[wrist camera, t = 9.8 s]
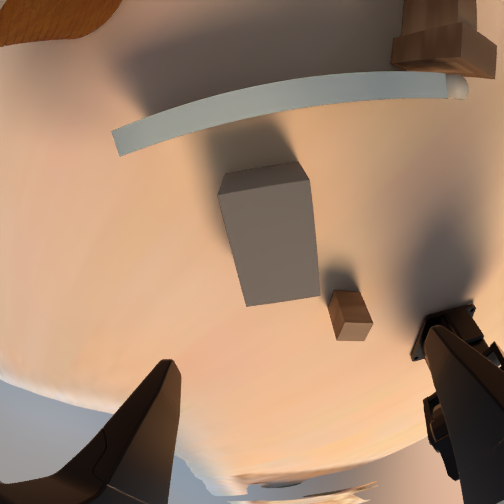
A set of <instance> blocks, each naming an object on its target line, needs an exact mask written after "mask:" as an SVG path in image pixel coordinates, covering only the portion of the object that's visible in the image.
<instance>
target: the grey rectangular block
mask: <svg viewBox="0 0 504 504" xmlns="http://www.w3.org/2000/svg"><path fill="white" fill-rule="evenodd" d="M218 199H219V203H220V207H221V211H222V215H223V219H224V223H225V227H226V231H227V235H228V239H229V243H230V246H231V250H232V254H233V258H234V262H235V266H236V270H237V273H238V277H239V281H240V285H241V289H242V292H243V296H244V300H245V303H246V307H248V306H255V305H263V304H270V303H277V302H284V301H290V300H297V299H303V298H310V297H316V296H320V284H319V270H318V256H317V245H316V233H315V223H314V213H313V204H312V195H311V187H310V180H309V178H308V176H307V175H306V173H305V171H304V170H303V168H302V166H301V165H300V163H299V162H292V163H286V164H279V165H273V166H267V167H261V168H255V169H249V170H244V171H238V172H233V173H228V174H225V176H224V179H223V182H222V184H221V187H220V190H219V193H218Z"/></svg>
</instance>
